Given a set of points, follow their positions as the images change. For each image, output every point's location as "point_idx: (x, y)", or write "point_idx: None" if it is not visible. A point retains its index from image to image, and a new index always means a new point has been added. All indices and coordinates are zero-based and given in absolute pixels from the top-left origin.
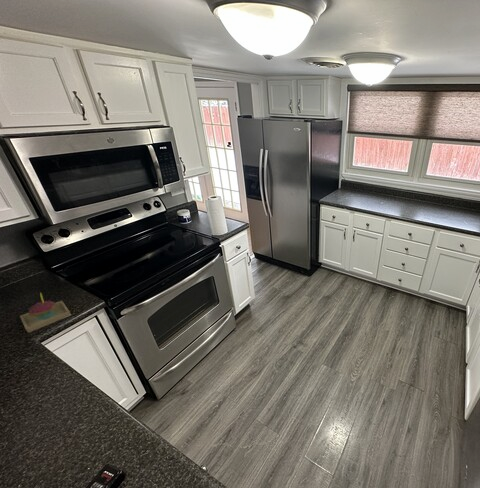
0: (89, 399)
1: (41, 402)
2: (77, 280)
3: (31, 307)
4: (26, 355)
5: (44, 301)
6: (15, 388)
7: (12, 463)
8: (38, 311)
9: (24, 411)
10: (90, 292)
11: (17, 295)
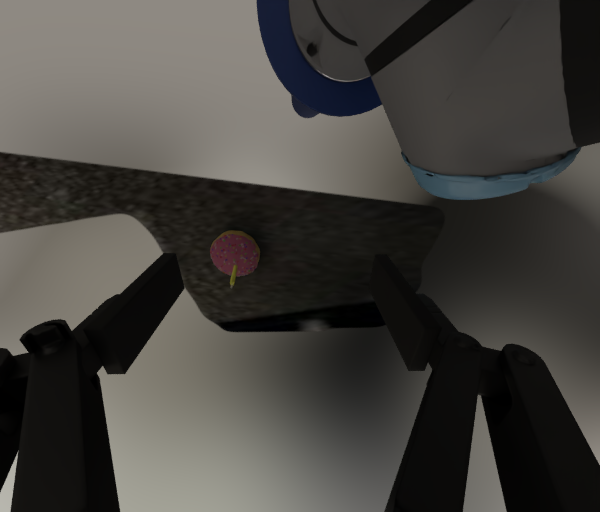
0: None
1: None
2: (346, 314)
3: (239, 244)
4: (78, 194)
5: (242, 268)
6: None
7: None
8: (212, 249)
9: None
10: (264, 317)
11: (389, 222)
